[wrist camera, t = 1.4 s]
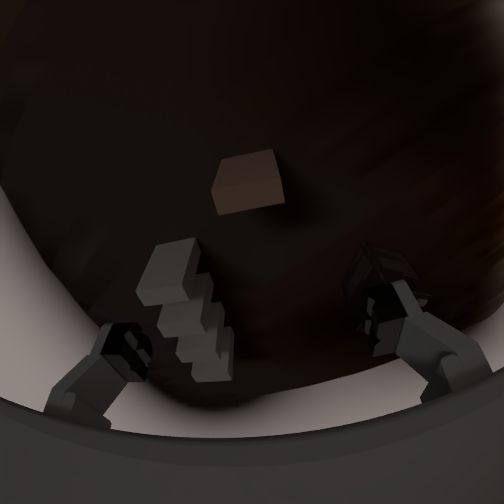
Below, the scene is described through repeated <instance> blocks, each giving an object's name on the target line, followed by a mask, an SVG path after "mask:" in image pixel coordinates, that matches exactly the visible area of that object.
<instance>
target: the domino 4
mask: <svg viewBox="0 0 504 504" xmlns="http://www.w3.org/2000/svg"><path fill="white" fill-rule="evenodd" d="M233 351H234V332H233V330H232V328H231V326H227V327H223V338H222V349H221V360H214V361H201V362H193V366H192V373H191V375H192V377H193V378H194V379H195V381H196V382H210V381H226V380H232V370H233Z"/></svg>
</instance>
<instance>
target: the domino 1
mask: <svg viewBox="0 0 504 504" xmlns="http://www.w3.org/2000/svg"><path fill="white" fill-rule="evenodd" d="M200 254H201V251H200V248H199V245H198V243H197V240H196V238H190V239H185V240H180V241H176V242H171V243H166V244H161V245H157V246H156V247H155V249H154V252H153V254H152V256H151V258H150V260H149V262H148V264H147V267H146V269H145V271H144V273H143V275H142V278H141V280H140V282H139V284H138V287H137V289H136V293H137V295H138V297H139V298H140V300H141V301H142V303H143V305H144V306H150V305H159V304H166V303H174V302H182V301H189V300H190V295H191V291H192V287H193V283H194V278H195V274H196V270H197V266H198V262H199V258H200Z"/></svg>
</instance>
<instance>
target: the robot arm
mask: <svg viewBox="0 0 504 504" xmlns="http://www.w3.org/2000/svg"><path fill="white" fill-rule="evenodd" d="M362 300H363V305H362V306H361V321H362V326H363V329H364V332H365V333H367V334H368V335H369V337H368V344H369V347H370V350H371V353H372V356H373V357H376V356H381V355H385V354H389V353H393V352H396V354H397V355H398V356H399V357H400V358H402V359H403V360H404V361H405V362H406V363H407V364H408V365H410V366H411V367H412V368H413V369H414V370H415V371H416V372H417V373H419V374H420V375H421V376H422V377H423V378H424V379H426V380H427V381H428V382H429V383H428V385H427V386H426V388H425V390H424V391H423V393H422V395H421V397H420V399H421V402H422V404H419V405H416V406H413V407H411V408H407V409H404V410H401V411H398V412H394V413H391V414H387V415H384V416H380V417H377V418H373V419H369V420H365V421H361V422H357V423H352V424H347V425H343V426H337V427H332V428H326V429H320V430H315V431H308V432H301V433H293V434H284V435H274V436H261V437H245V438H188V437H171V436H159V435H149V434H141V433H133V432H125V431H120V430H113V429H110V428H111V422H110V421H109V420H108V419H107V418H105V417H104V416H103V414H104V413H105V412H106V410H107V409H108V408H109V407H110V405H111V404H112V403H113V401H114V400H115V399H116V397H117V396H118V395H119V394H120V392H121V391H122V390H123V388H124V387H125V386H126V385H127V382H145V380H146V376H147V372H148V366H147V364H146V363H147V362H148V361H149V360H150V359H151V357H152V353H153V352H152V344H151V341H150V339H149V338H148V336H146V335H145V334H143V333H141V332H142V328H141V326H140V325H139V324H138V323H135V322H131V323H114V324H104V325H103V326H102V328H101V330H100V332H99V335H98V337H97V339H96V341H95V343H94V346H93V348H92V351H91V353H90V355H86V357H84V358H83V359H82V360H81V361H80V362H79V363H78V364H77V365H76V366H75V367H74V368H73V369H72V370H71V371H70V372H68V374H66V375H65V376H64V377H63V378H62V379H61V380H60V381H59V382H58V383H57V384H56V385H55V386H54V387H53V388H52V390H51V393H50V395H49V397H48V401H47V403H46V405H45V408H44V411H43V412H39V411H36V410H33V409H30V408H28V407H25V406H22V405H19V404H17V403H14V402H11V401H8V400H6V399H4V398H2V397H0V504H504V367H503V368H501V369H499V370H497V371H495V372H494V373H493V372H492V370H491V368H490V366H489V364H488V361H487V359H486V358H485V356H484V354H483V352H482V350H481V348H480V346H479V344H478V342H476V341H474V340H473V339H471V338H470V337H468V336H466V335H464V334H463V333H461V332H460V331H458V330H457V329H455V328H453V327H452V326H450V325H448V324H447V323H445V322H443V321H442V320H440V319H438V318H437V317H435V316H433V315H432V314H430V313H428V312H424V313H423V311H422V310H421V308H420V306H419V304H418V302H417V300H416V299H415V297H414V295H413V293H412V292H411V290H410V288H409V286H408V285H407V283H406V281H404V280H399V281H395V282H391V283H387V284H382V285H378V286H374V287H369V288H365V289H363V290H362Z"/></svg>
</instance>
